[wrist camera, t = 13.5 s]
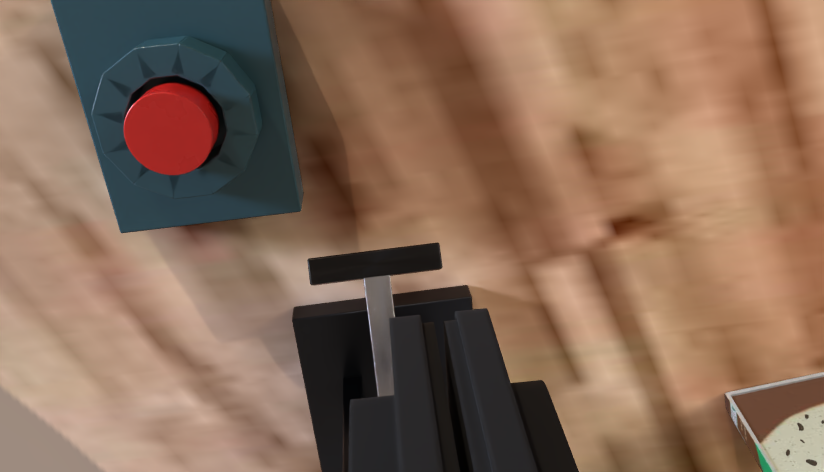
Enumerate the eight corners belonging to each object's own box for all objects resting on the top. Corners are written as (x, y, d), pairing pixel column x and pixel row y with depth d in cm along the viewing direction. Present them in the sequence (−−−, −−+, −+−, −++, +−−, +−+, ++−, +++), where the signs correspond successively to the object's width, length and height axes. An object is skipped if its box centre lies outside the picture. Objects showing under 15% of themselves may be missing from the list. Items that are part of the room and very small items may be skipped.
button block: (69, -10, 28) (29, 2, 25) (265, -31, 29) (254, -22, 25) (133, 214, 33) (107, 252, 29) (303, 194, 33) (299, 228, 29)
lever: (311, 260, 30) (305, 257, 28) (436, 245, 31) (440, 240, 28) (349, 589, 29) (346, 615, 27) (478, 570, 30) (486, 595, 27)
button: (126, 86, 27) (112, 97, 25) (209, 77, 27) (201, 87, 25) (147, 165, 28) (136, 180, 27) (227, 156, 28) (220, 170, 27)
